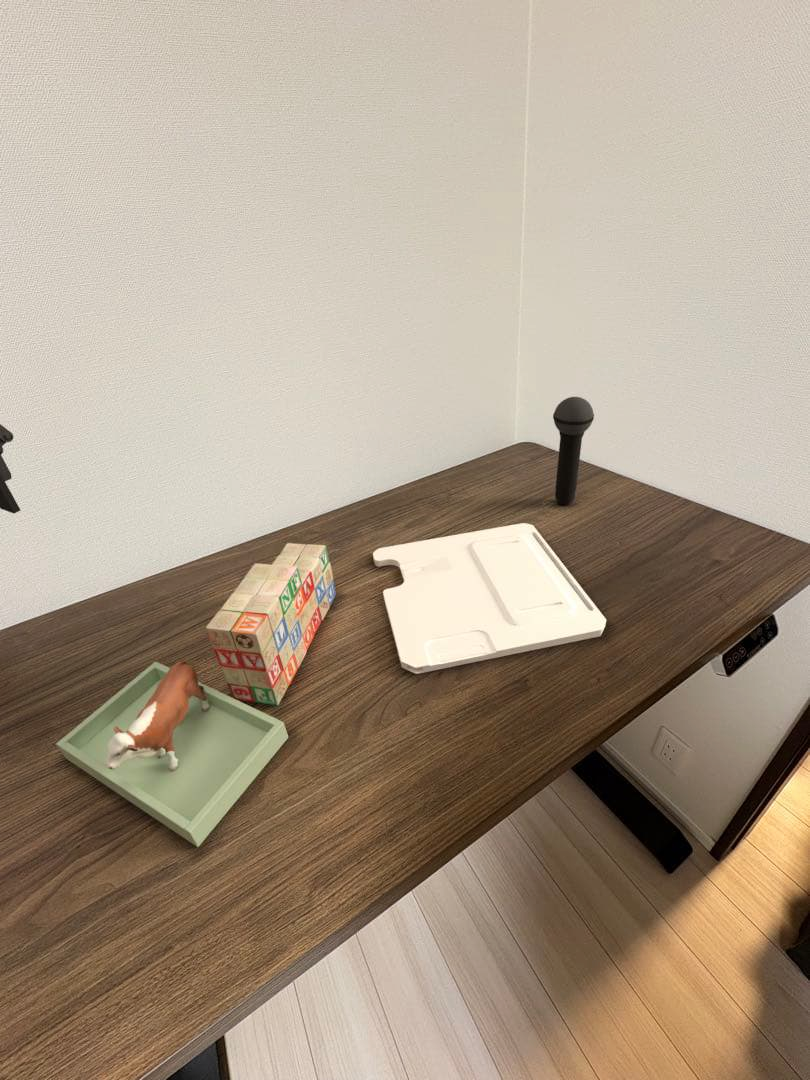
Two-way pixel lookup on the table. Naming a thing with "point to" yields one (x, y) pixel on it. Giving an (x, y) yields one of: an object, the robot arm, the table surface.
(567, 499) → the microphone
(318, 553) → the stack of blocks
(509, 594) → the tray
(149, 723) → the bull figurine
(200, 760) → the tray
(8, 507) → the robot arm
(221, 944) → the table surface
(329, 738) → the table surface
